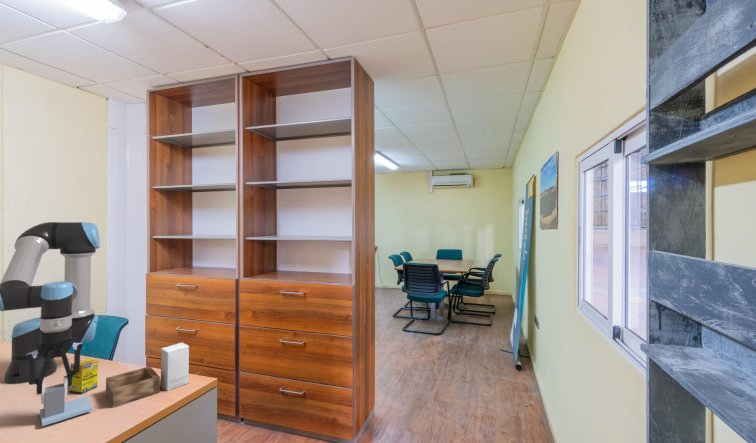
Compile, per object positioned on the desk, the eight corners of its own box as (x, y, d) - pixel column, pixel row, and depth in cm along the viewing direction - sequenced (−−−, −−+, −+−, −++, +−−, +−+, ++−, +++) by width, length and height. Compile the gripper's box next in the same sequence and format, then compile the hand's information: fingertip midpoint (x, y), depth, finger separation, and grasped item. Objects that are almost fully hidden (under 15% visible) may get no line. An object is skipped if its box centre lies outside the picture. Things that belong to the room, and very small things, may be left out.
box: (149, 381, 134) (150, 366, 134) (159, 392, 126) (159, 376, 126) (105, 394, 124) (106, 377, 124) (112, 407, 115) (113, 389, 115)
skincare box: (181, 379, 137) (182, 341, 137) (189, 383, 133) (190, 345, 133) (159, 386, 130) (160, 347, 130) (166, 392, 126) (167, 351, 127)
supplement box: (81, 394, 123) (82, 365, 124) (69, 392, 125) (69, 363, 125) (98, 386, 129) (98, 359, 129) (85, 385, 130) (86, 357, 131)
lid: (87, 398, 119) (87, 373, 119) (92, 410, 112) (93, 384, 112) (39, 412, 110) (40, 385, 110) (42, 426, 103) (43, 397, 103)
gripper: (17, 338, 100) (15, 415, 100) (92, 325, 113) (91, 393, 113) (16, 332, 105) (14, 405, 105) (89, 321, 118) (87, 386, 118)
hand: (54, 399), depth 109 cm, fingers closed on lid, 4 cm apart
